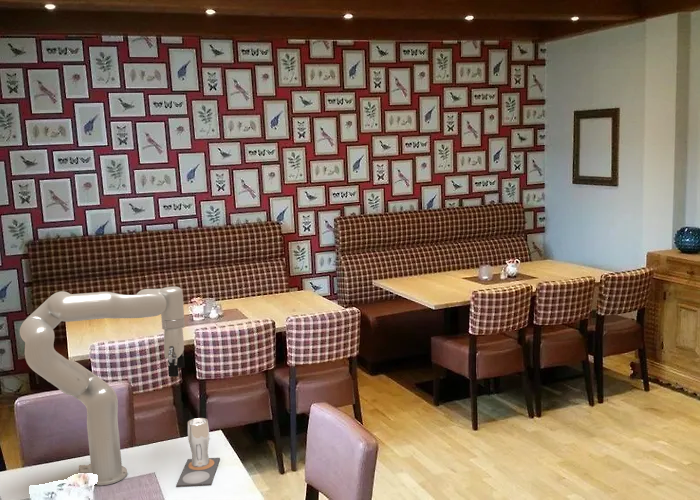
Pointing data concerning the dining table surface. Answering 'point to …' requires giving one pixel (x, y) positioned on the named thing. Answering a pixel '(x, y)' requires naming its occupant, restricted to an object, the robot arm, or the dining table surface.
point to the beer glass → (199, 442)
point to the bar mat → (198, 474)
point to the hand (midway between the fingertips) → (176, 371)
